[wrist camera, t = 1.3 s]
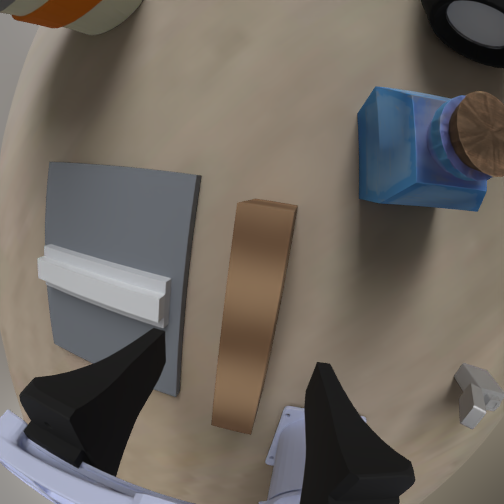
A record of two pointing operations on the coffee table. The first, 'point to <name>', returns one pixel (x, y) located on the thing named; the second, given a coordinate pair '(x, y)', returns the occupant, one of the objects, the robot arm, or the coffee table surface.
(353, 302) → the coffee table surface
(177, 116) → the coffee table surface
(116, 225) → the ridge stand
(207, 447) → the coffee table surface
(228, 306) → the walnut bar
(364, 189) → the perfume bottle
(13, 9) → the reusable coffee cup
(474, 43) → the portable speaker
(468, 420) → the grey angular piece
